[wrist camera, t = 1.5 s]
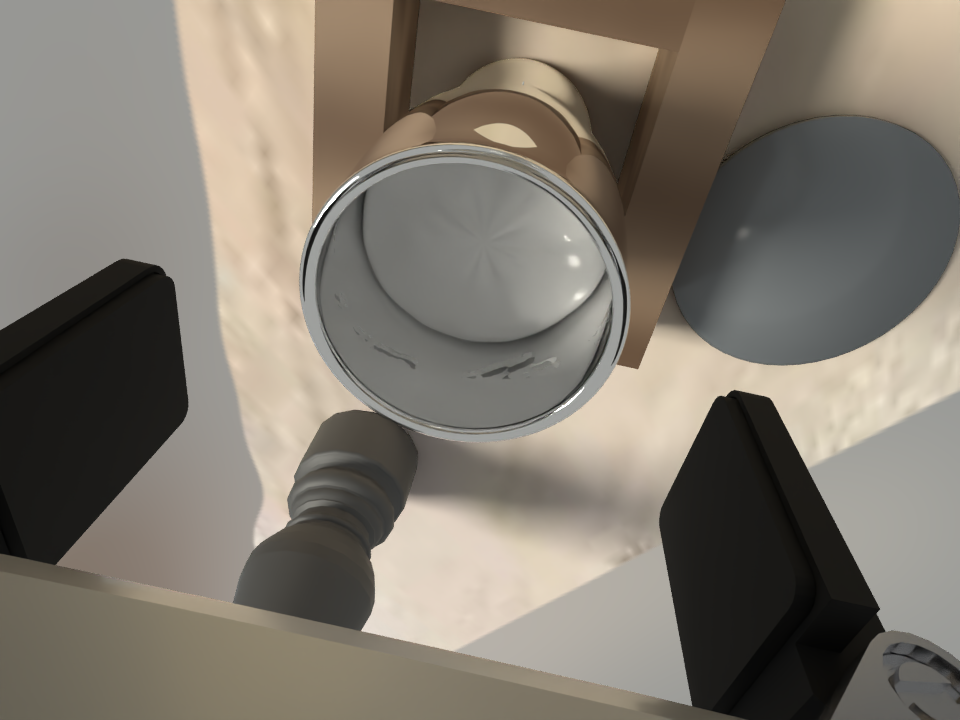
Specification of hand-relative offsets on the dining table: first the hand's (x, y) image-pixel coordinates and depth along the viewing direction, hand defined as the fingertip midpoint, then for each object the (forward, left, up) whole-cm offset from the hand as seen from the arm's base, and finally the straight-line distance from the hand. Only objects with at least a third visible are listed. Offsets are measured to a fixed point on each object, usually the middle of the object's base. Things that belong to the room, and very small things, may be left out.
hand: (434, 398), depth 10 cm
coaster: (+1, +13, -17) cm, 21 cm away
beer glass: (-1, 0, -17) cm, 17 cm away
